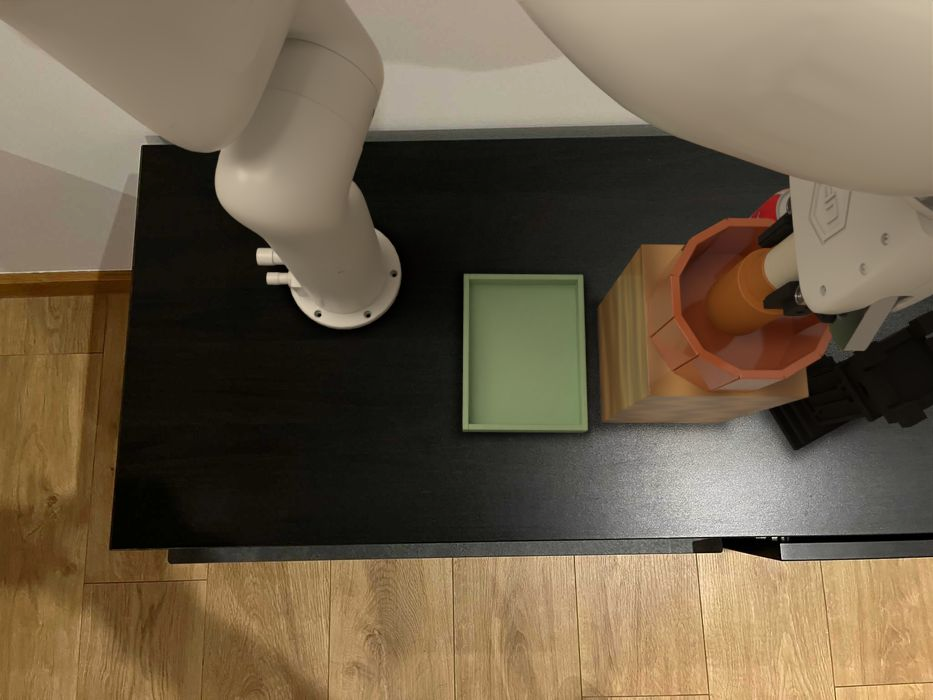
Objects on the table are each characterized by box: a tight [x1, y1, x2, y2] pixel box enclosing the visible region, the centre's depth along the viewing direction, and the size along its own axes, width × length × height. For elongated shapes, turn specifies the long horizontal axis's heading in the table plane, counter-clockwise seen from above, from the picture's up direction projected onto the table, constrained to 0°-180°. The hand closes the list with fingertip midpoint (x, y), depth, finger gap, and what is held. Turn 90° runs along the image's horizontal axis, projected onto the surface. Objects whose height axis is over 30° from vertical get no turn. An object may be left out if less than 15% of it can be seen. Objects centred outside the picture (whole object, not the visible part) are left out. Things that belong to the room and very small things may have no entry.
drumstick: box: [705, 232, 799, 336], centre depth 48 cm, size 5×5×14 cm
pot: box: [648, 217, 833, 393], centre depth 54 cm, size 12×12×6 cm
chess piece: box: [768, 309, 933, 452], centre depth 66 cm, size 8×8×20 cm
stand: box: [596, 244, 809, 424], centre depth 67 cm, size 13×13×20 cm
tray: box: [462, 273, 589, 434], centre depth 76 cm, size 13×17×2 cm
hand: (783, 272), depth 46 cm, fingers closed on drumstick, 3 cm apart
